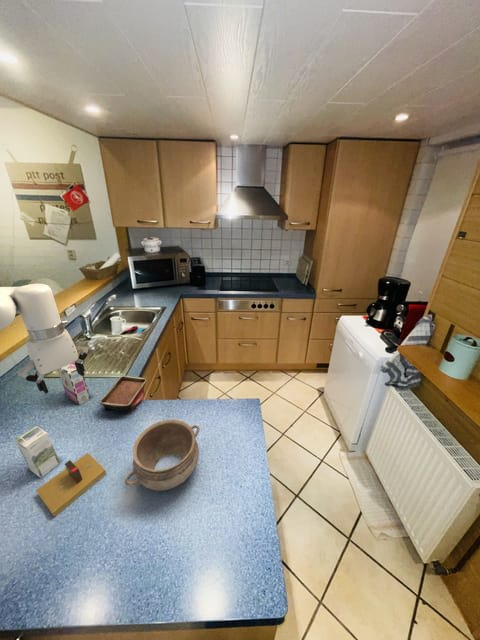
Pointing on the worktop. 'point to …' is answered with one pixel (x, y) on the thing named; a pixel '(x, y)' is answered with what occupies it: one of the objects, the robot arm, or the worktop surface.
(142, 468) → the cooking pot
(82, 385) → the candy bar box
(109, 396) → the baking dish
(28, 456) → the syrup box
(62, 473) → the plate
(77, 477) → the lock knob
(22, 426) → the worktop surface
